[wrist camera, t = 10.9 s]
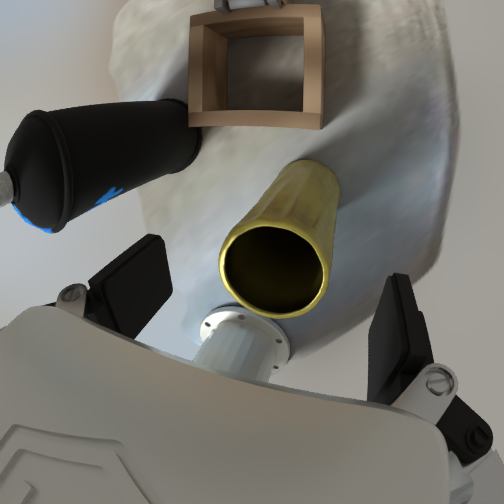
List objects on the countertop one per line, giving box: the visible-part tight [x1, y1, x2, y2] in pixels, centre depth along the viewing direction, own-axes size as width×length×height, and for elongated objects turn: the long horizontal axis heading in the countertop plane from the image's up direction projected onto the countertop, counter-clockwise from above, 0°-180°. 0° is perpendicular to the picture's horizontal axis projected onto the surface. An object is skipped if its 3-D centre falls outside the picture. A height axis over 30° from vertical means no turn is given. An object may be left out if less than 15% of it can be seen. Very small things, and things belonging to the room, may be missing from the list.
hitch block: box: [188, 0, 325, 130], centre depth 15 cm, size 18×10×7 cm, turn 179°
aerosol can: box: [0, 98, 201, 234], centre depth 17 cm, size 8×8×20 cm
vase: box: [218, 160, 341, 319], centre depth 18 cm, size 6×6×14 cm
